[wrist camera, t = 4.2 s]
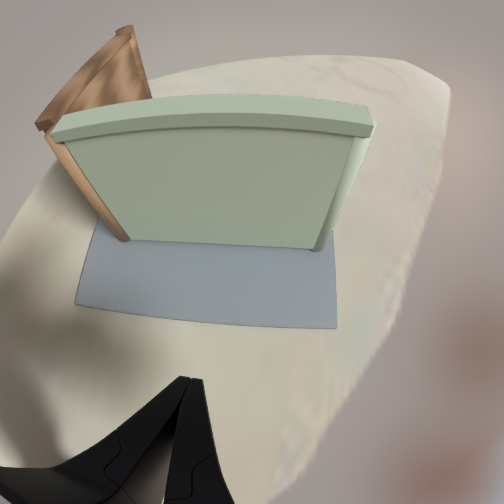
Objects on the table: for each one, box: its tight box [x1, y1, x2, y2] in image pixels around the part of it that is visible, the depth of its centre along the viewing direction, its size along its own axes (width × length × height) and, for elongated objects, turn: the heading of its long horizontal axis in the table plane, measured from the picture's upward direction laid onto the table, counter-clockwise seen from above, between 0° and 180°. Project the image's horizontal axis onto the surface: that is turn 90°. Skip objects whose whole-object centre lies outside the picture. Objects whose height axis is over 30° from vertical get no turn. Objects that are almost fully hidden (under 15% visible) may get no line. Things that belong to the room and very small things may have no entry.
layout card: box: [75, 216, 337, 329], centre depth 26 cm, size 23×22×1 cm
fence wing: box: [44, 94, 377, 252], centre depth 18 cm, size 2×18×14 cm, turn 86°
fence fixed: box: [35, 25, 152, 133], centre depth 22 cm, size 16×2×14 cm, turn 176°
